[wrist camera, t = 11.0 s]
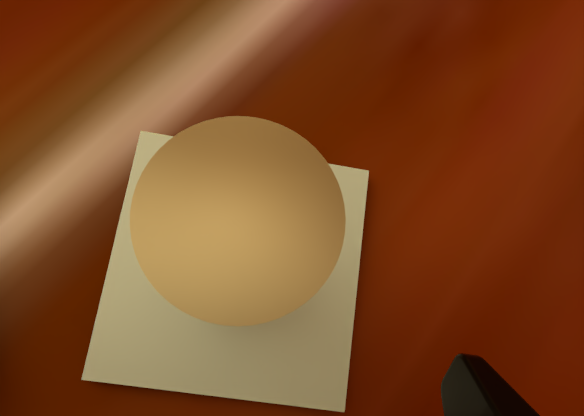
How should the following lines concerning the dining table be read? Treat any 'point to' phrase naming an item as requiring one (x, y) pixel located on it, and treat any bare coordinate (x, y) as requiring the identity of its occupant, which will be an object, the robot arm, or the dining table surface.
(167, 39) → the dining table surface
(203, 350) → the pad
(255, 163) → the post
